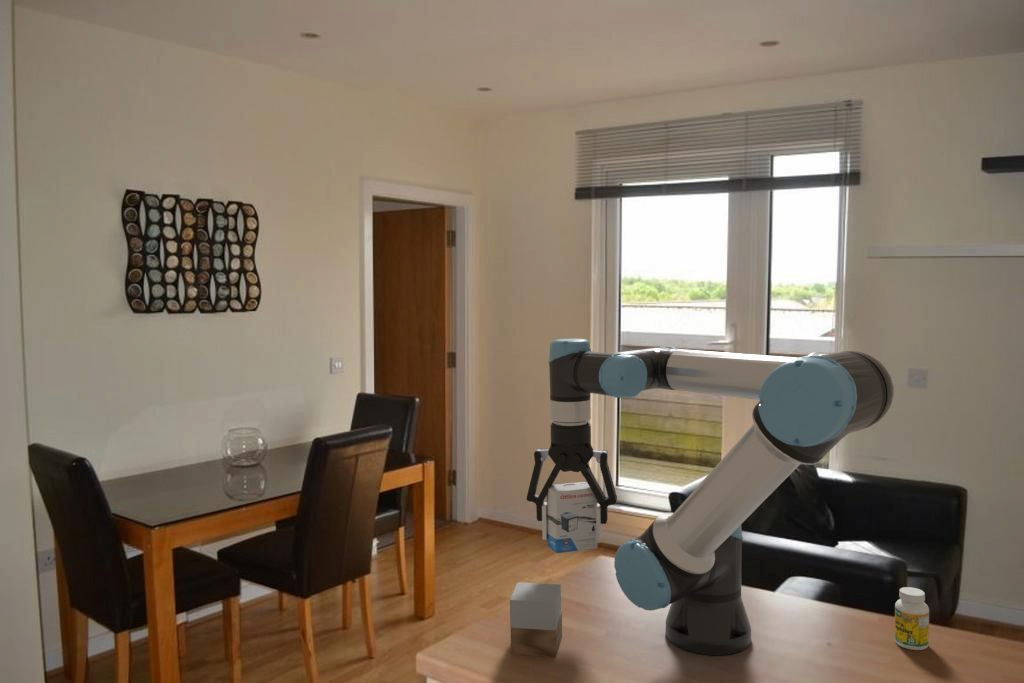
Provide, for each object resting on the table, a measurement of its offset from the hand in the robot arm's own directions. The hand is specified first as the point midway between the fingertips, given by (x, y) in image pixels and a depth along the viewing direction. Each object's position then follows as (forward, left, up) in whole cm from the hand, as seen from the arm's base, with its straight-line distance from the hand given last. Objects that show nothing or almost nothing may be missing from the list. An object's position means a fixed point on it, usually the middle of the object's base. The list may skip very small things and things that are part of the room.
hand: (572, 538), depth 151 cm
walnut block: (+5, +10, -16) cm, 20 cm away
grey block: (+5, +10, -11) cm, 16 cm away
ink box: (0, 0, -2) cm, 2 cm away
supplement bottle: (-60, -1, -16) cm, 62 cm away
